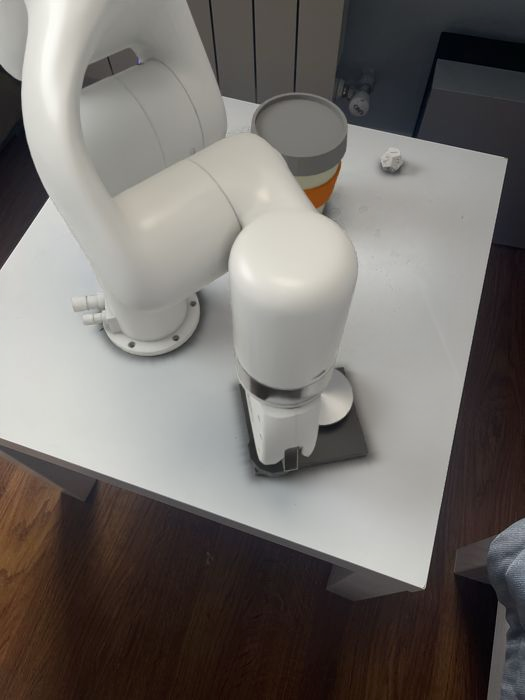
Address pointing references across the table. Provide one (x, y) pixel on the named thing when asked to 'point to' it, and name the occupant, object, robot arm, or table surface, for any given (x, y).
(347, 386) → the weighing pan
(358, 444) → the scale
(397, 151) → the game die
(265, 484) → the table surface
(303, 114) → the reusable coffee cup
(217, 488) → the table surface
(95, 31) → the robot arm
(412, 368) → the table surface
